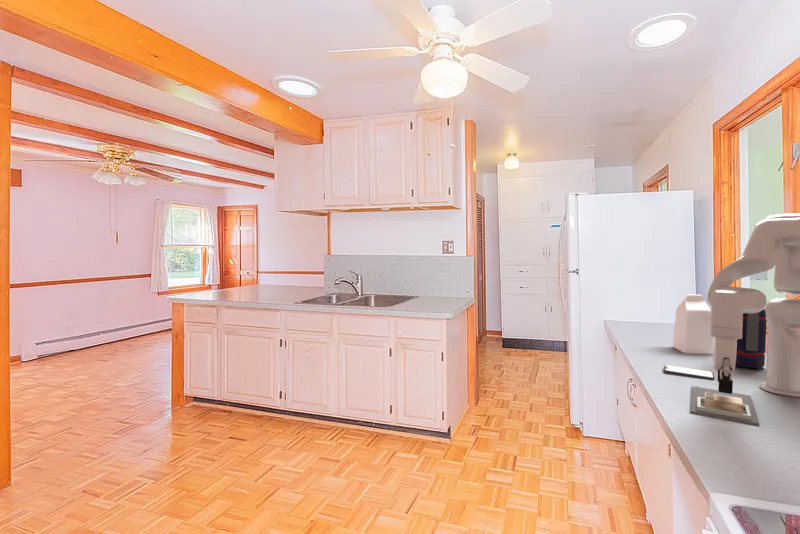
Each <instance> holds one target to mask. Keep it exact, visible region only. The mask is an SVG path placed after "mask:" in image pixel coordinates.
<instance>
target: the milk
mask: <svg viewBox="0 0 800 534" xmlns="http://www.w3.org/2000/svg"><path fill="white" fill-rule="evenodd" d="M710 308H711V307H709V304H708V303H706V300H705V299H704V296H703V294H686V296H685V298H684V300H683V301H682V302H681V303H679V304H678V306H677V307H676V309H675V317H674V319H675V320H674V330H673V341H672V348H673V349H675V350H678V351H679V352H682V353H683V354H696V355H697V354H701V355H714V337H713V336H711V309H710Z"/></svg>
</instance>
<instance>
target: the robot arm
mask: <svg viewBox="0 0 800 534" xmlns="http://www.w3.org/2000/svg"><path fill="white" fill-rule="evenodd" d="M745 246H746V247H745V248H744V251H743V253H742V255H741V257H738V258H737V259H736V260H733V261H732V262H730V263H728V264H727V265H726V266H724V268H722V269H720V270H719V272H717V273H716V275H715V276H714V277H713V280H712V282H711V284H710V286H709V289H708V292H707V296H706V297H707V298H706V299H707V304H708V306H710V308H711V309H710V310H711V336H713V347H714V354H713V369H714V371H717V382H718V390H719V392H722V393H729V394H732V393H733V383H734V382H733V376H732V375H733V373H734V372H736V371H735V369H736V367H735V363H736V350H737V339H742V326H743V313H749V314H754V313H758V312H760V311H762V310H763V309H764V308H765V313H766V319H767V326H766V327H767V343H766V345H767V347H766V369H765V381H761V382H760V383H759V388H761V390H764V391H766V392H769V393H772V394H776V395H781V396H786V397H794V398H800V299H799V298H797V299H796V298H786V297H785V298H781V297H780V298H774V299H771V300H769V301H768V299H767V296H766V294H765V293H764V292H763V291H761V290H759V289H757V288H756V289H755V288H749V287H739V286H738V287H737V286H731V285H733V283H735V282H736V281H738V280H741V279H743V278H747V277H750V276H754V275H757V274H761V273H765V272H768V271H770V270H772V269H773V268H774V275H773V276H774V277H773V287H774V290H775V291H776V292H778V293H780V294H785V295H790V296H800V213H783V214H774V215H769V216H766V217H765V218H764V219H763V220H761V221H759V222H758V223H757V224H756V225H755V227H754V228H753V231H752V232H751V235H750V237H749V240H748V242H747V244H746V245H745Z"/></svg>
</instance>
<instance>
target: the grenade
mask: <svg viewBox="0 0 800 534" xmlns="http://www.w3.org/2000/svg"><path fill="white" fill-rule="evenodd" d="M765 308H766V307H765ZM765 308H764V309H763V310H762V311H760V312H758V313H754V314H749V313H743V326H742V339H737V350H736V363H735V368H738V369H740V368H741V367H746V368H753V369H754V368H756V370H758V371H759V369H761V370H762V369H763V368H764V367H765V361H766V345H767V343H766V341H767V327H768V326H767V319H766V313H765Z"/></svg>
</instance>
